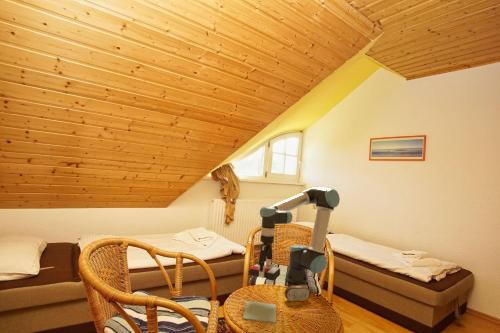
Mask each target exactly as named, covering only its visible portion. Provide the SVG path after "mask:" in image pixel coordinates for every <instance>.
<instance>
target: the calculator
mask: <svg viewBox="0 0 500 333" xmlns="http://www.w3.org/2000/svg"><path fill="white" fill-rule="evenodd" d="M264 265H265V269H264V279H266V280H269V281H275V280H276V279H277V278H279V277H280V275H281V268H280V267H276V266H271V265H270V266H267V265H266V264H264ZM259 267H260V265H258V263H256V264H255V265H253V266H252V267H250V268H248V275H249V276H253V277H258V278H260V277H259Z"/></svg>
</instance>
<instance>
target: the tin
mask: <svg viewBox="0 0 500 333" xmlns="http://www.w3.org/2000/svg"><path fill="white" fill-rule="evenodd" d="M310 296H311V291H310V289H309V288H308V286H307V285H305V284H296V285H290V286H287V287H286V289H285V291H284V297H285V298H286V299H287V301H289V302H291V301H296V302H301V301H300V300H306V301H308V300H309V298H310Z"/></svg>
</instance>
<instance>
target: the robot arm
mask: <svg viewBox="0 0 500 333" xmlns="http://www.w3.org/2000/svg"><path fill="white" fill-rule="evenodd" d="M340 200H341V198H340V194H339V193H338V190H336V189H335V188H330V187H319V186H314V187H309V188H307V189H305V190H302V191H300V192H299V194H297V195H294V196H292V197H289V198H287V199H284V200H282V201H280V202H278V203H276V204H274V205H273V204H272V205H271V206H263V207H261V208H260V210H259V216H260V217H261V227H260V230H261V231H260V232H261V233H260V242H261V243H262V245H261V247H260V252H259V258H258V262H257V264H258V265H260V267H259V277H258V278H262V279H263V278H264V269H265V265H267V266H271V263H272V260H273V258H274V257H273V243H274V242H275V231H276V225H286V224H291V223H292V221H293V213H292V212H291V211H292V210H295V209H297V208H299V207H301V206H303V205H304V206H307V205H312V204H315V207H316V209H317V210H316V214H315V220H314V224H313V230H312V235H311V239H310V244H309V246H307V245H301V244H296V245H295V244H294V245H292V246H290V248H289V258H288V260H289V261H288V262H289V263H288V264H289V265H288V269H287V271H286V273H285V280H286V281H287V282H288V283H292V284H294V285H305V284H306V285H307V284H308V282H309V275H308V271H309V272H311V273H315V274H320V273H323V271H325V269H326V267H327V265H328V259H327V256H326V252H325V250H324V247H325V244H326V243H325V242H326V237H327V233H328V228H329V223H330V218H331V213H332V212H333V211H334V210H335V208H336V207H338V206H339V204H340ZM307 270H308V271H307ZM264 279H265V278H264Z"/></svg>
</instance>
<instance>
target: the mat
mask: <svg viewBox="0 0 500 333" xmlns="http://www.w3.org/2000/svg"><path fill="white" fill-rule="evenodd" d="M242 320H247V321H254V322H264V323H270V324H271V323H272V324H277V304H274V303H266V302H259V301H257V302H255V301H249V300H247V301H246V303H245V307H244V312H243V315H242Z"/></svg>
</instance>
